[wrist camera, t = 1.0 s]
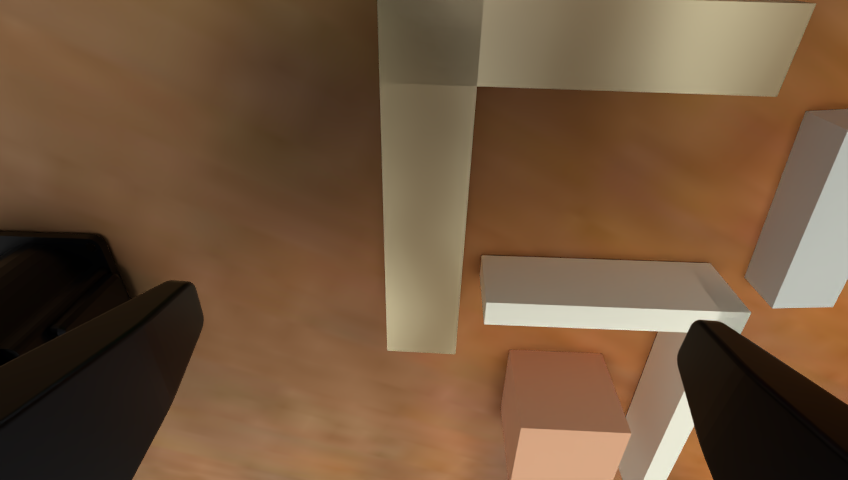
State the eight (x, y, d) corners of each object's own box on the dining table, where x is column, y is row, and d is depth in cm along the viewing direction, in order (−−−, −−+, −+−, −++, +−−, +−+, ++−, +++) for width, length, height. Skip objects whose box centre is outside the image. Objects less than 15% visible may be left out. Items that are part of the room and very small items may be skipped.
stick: (741, 274, 22) (772, 308, 20) (801, 109, 18) (848, 130, 16) (796, 272, 22) (832, 307, 20) (869, 105, 18) (926, 126, 16)
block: (500, 407, 28) (509, 489, 24) (509, 348, 25) (521, 427, 21) (583, 411, 28) (607, 494, 24) (601, 352, 25) (631, 433, 21)
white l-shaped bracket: (464, 443, 30) (465, 497, 27) (481, 255, 22) (486, 302, 19) (631, 451, 30) (652, 507, 27) (710, 263, 22) (751, 312, 19)
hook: (396, 293, 24) (387, 350, 20) (392, -18, 16) (376, -9, 13) (632, 304, 23) (663, 365, 20) (739, -8, 16) (816, 3, 13)
